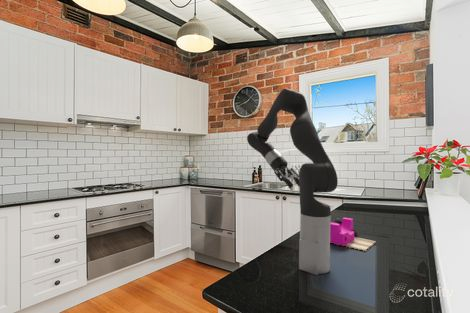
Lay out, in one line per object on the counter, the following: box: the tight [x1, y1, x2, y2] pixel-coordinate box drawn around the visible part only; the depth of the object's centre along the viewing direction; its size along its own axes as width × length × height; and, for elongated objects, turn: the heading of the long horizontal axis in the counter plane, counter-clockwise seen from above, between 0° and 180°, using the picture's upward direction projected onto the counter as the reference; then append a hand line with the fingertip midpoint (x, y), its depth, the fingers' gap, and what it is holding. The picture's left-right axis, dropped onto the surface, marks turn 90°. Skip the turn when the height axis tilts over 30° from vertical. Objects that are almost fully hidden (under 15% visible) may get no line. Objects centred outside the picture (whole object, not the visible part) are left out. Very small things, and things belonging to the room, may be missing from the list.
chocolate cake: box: [332, 217, 359, 237], centre depth 124 cm, size 10×7×12 cm
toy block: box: [330, 217, 354, 247], centre depth 113 cm, size 15×6×8 cm, turn 134°
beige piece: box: [344, 236, 377, 252], centre depth 114 cm, size 14×24×13 cm, turn 48°
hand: (296, 186), depth 125 cm, fingers open, 8 cm apart
